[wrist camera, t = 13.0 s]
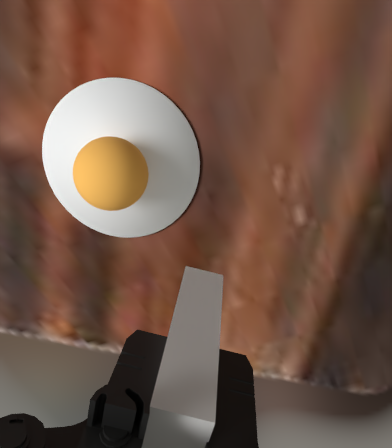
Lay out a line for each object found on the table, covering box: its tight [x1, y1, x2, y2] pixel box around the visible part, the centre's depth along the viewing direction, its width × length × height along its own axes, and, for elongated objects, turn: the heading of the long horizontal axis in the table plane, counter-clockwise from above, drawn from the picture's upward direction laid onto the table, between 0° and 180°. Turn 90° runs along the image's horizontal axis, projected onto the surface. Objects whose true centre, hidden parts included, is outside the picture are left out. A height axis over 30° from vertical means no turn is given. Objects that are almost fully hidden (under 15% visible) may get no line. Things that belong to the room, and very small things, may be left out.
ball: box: [73, 136, 149, 211], centre depth 27 cm, size 6×6×6 cm
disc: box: [42, 78, 200, 238], centre depth 30 cm, size 13×13×1 cm
